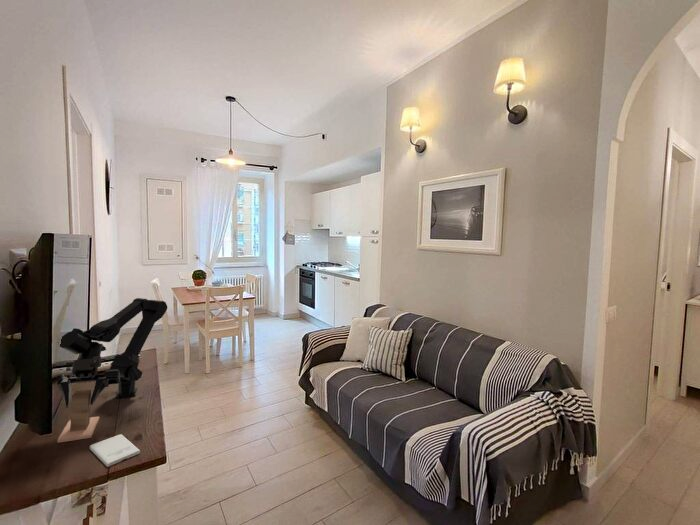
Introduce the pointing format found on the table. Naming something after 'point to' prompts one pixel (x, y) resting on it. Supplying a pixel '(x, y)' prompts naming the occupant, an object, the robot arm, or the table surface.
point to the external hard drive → (114, 450)
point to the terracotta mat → (79, 434)
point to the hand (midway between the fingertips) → (79, 405)
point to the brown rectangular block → (80, 410)
